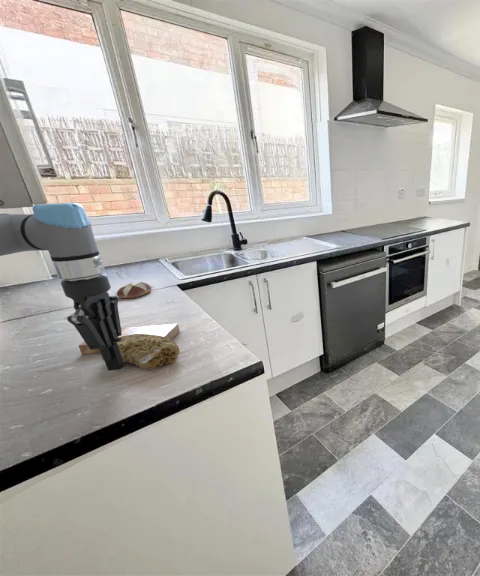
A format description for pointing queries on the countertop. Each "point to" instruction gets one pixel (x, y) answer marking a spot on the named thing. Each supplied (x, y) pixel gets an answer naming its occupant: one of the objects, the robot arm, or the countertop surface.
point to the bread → (133, 290)
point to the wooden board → (160, 330)
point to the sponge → (148, 350)
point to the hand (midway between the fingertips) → (116, 368)
